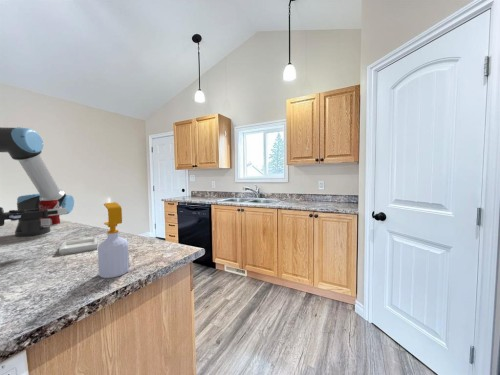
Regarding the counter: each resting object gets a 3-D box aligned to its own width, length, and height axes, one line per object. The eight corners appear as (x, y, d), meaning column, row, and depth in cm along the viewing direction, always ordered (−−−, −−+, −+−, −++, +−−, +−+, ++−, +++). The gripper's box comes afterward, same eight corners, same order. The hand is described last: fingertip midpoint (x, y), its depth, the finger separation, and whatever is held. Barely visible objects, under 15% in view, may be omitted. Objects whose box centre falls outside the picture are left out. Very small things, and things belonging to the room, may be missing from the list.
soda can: (50, 227, 98) (49, 200, 97) (35, 227, 98) (34, 200, 97) (64, 224, 104) (62, 198, 104) (50, 224, 105) (48, 198, 104)
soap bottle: (123, 265, 85) (120, 200, 84) (133, 271, 80) (131, 202, 78) (95, 273, 79) (92, 203, 77) (105, 281, 73) (101, 205, 71)
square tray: (63, 247, 108) (63, 241, 107) (97, 242, 115) (97, 237, 115) (59, 255, 96) (59, 249, 96) (97, 249, 104) (97, 244, 104)
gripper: (-13, 224, 93) (58, 215, 111) (-9, 231, 81) (71, 220, 99) (-15, 206, 92) (58, 200, 110) (-11, 210, 80) (70, 203, 99)
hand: (64, 210), depth 105 cm, fingers closed on soda can, 6 cm apart
